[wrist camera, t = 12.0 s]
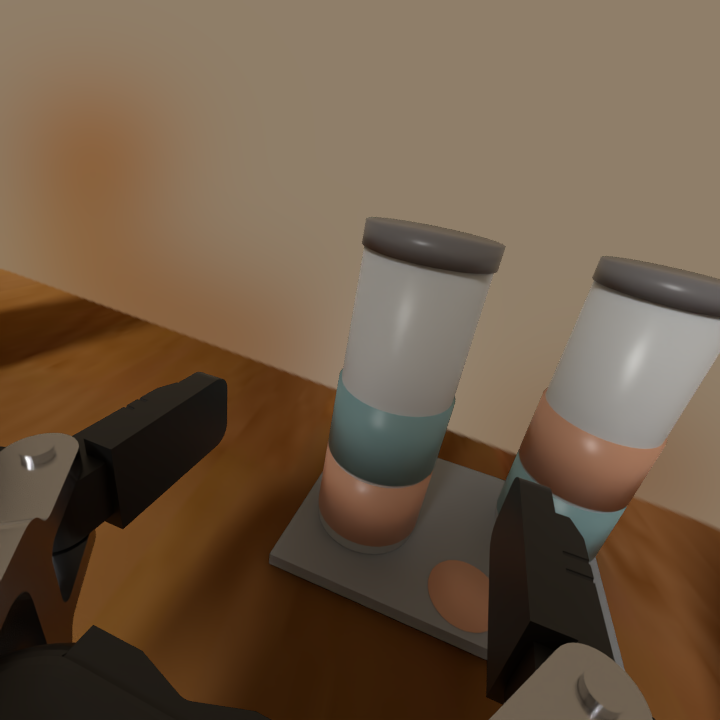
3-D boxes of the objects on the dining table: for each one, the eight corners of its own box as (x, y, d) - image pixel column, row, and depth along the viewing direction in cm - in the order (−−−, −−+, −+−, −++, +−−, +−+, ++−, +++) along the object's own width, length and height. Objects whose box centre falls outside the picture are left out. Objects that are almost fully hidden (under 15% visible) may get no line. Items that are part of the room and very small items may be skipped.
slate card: (269, 563, 17) (269, 552, 16) (349, 435, 25) (350, 427, 25) (628, 723, 13) (636, 713, 13) (578, 514, 22) (582, 506, 22)
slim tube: (299, 529, 17) (345, 219, 12) (338, 466, 22) (386, 215, 16) (401, 573, 16) (506, 255, 11) (422, 497, 21) (504, 240, 15)
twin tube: (492, 550, 18) (619, 269, 12) (494, 483, 22) (589, 250, 17) (602, 591, 17) (797, 306, 11) (582, 513, 21) (717, 276, 16)
